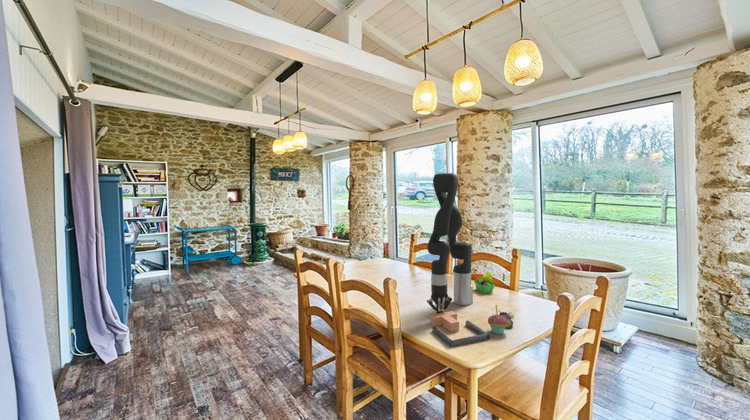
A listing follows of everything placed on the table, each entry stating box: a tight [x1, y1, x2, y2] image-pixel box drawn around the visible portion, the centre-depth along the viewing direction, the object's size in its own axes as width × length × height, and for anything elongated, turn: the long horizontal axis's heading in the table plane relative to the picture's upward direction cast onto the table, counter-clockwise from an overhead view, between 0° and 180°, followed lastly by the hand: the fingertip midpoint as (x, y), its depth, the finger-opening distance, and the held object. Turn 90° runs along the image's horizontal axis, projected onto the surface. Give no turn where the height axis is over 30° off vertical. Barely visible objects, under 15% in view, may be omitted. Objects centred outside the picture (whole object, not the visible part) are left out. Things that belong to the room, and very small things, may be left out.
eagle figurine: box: [498, 310, 515, 331], centre depth 146 cm, size 8×7×9 cm
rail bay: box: [431, 320, 491, 348], centre depth 137 cm, size 18×15×2 cm
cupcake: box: [487, 304, 509, 335], centre depth 139 cm, size 9×8×12 cm
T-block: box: [429, 310, 460, 333], centre depth 146 cm, size 12×12×4 cm
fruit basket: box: [473, 271, 496, 294], centre depth 194 cm, size 11×9×11 cm
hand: (439, 318), depth 153 cm, fingers closed
